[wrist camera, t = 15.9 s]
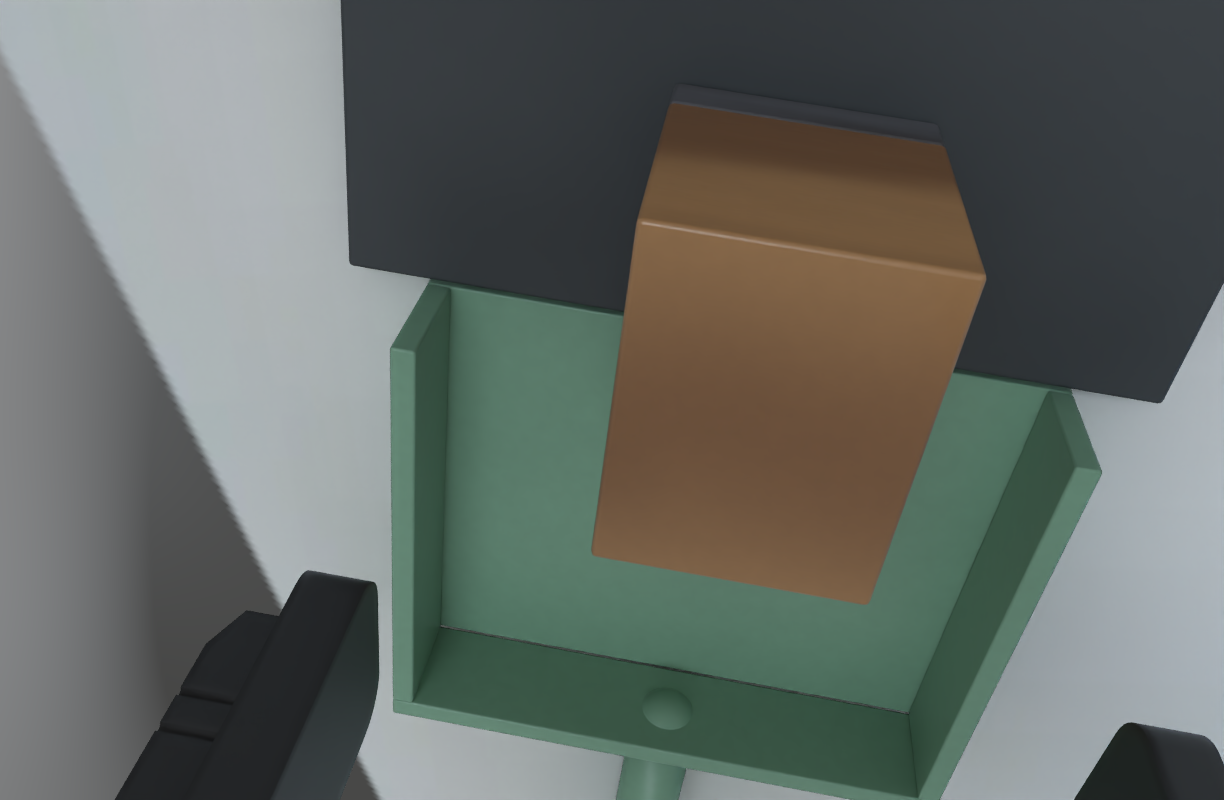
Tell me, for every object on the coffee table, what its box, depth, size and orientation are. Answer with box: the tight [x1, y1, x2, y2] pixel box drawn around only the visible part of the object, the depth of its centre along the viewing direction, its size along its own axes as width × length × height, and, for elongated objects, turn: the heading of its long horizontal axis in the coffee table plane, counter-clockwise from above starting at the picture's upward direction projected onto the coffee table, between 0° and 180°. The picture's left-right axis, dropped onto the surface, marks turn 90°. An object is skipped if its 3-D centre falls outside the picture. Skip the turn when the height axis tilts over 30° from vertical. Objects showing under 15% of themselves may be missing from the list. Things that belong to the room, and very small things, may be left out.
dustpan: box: [390, 279, 1102, 800], centre depth 26 cm, size 19×13×3 cm
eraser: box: [591, 84, 986, 605], centre depth 17 cm, size 6×4×6 cm
